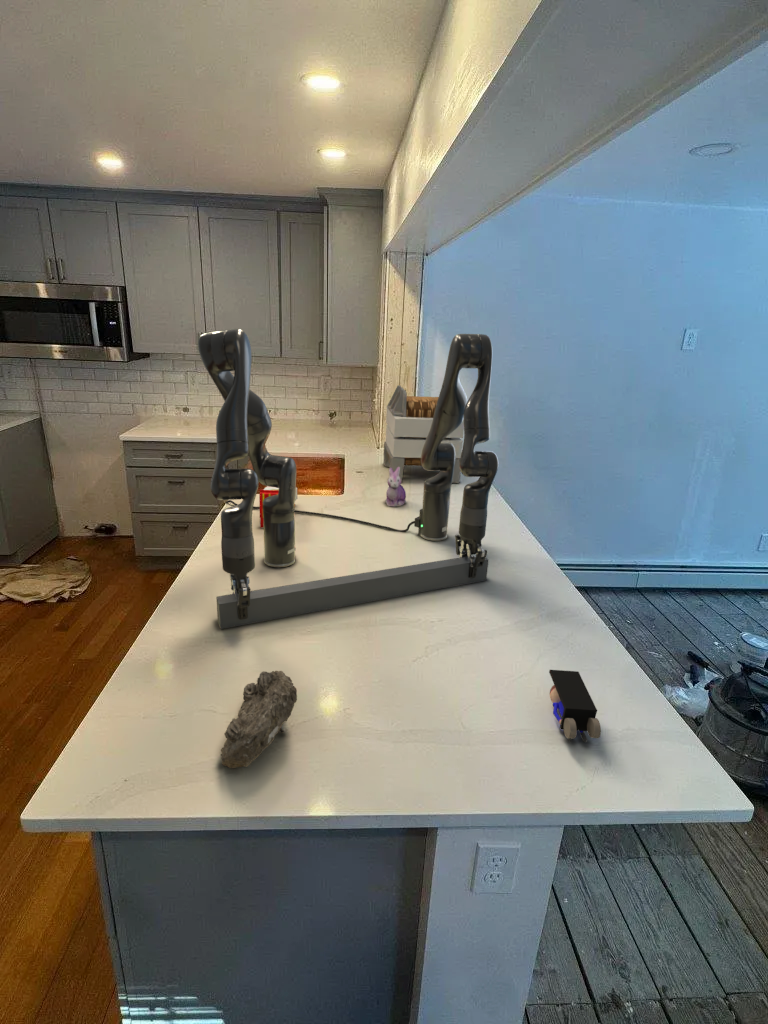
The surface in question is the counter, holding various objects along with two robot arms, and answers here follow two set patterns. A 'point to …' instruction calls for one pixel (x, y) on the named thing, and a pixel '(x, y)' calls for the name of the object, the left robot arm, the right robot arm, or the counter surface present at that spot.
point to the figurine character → (573, 705)
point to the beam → (347, 590)
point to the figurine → (395, 489)
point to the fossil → (258, 718)
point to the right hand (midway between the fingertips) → (467, 573)
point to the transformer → (414, 431)
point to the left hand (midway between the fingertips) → (241, 613)
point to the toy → (264, 494)
